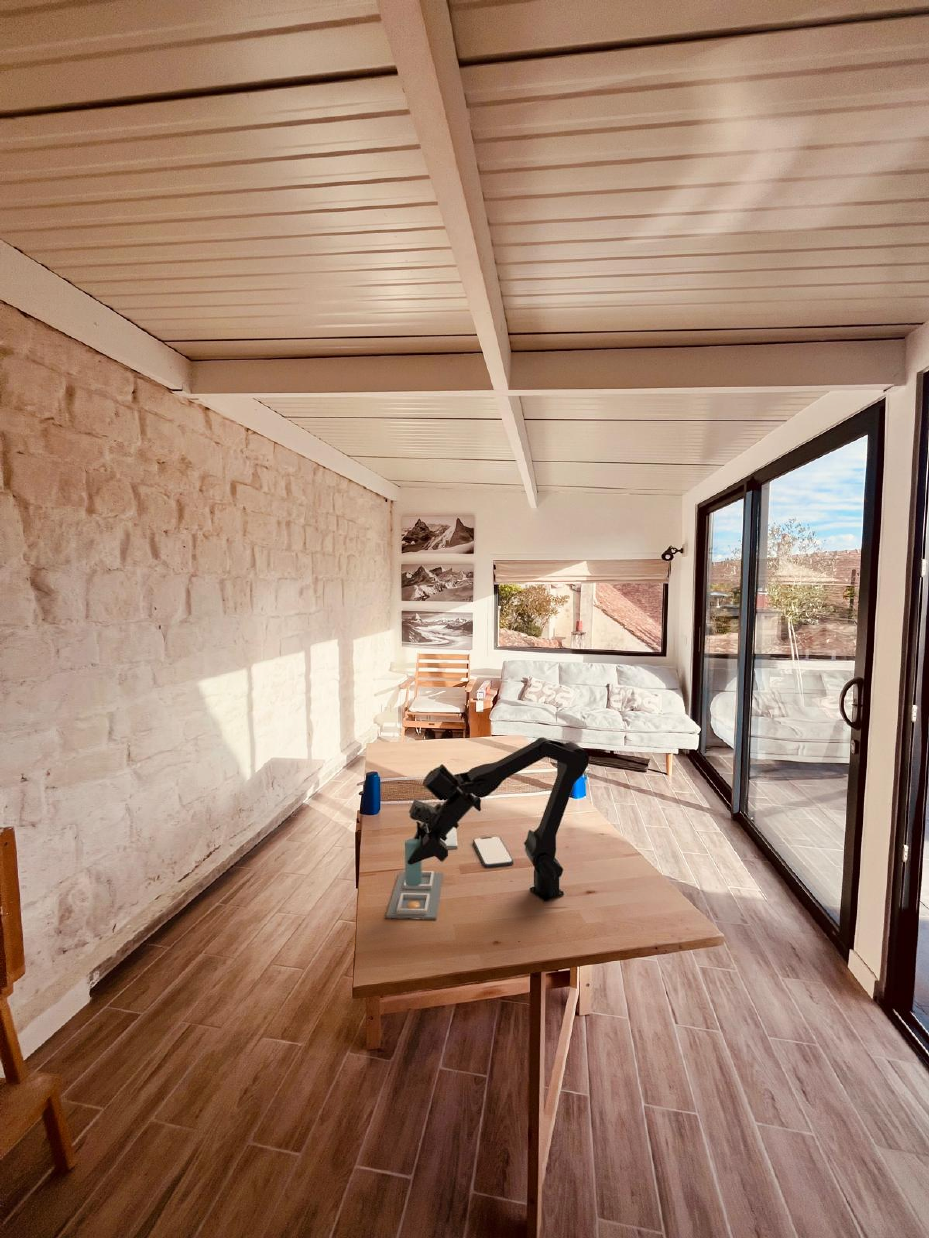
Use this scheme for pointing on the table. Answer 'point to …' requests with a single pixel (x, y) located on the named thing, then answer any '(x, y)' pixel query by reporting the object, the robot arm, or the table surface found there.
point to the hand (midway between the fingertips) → (407, 858)
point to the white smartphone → (492, 852)
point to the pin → (414, 870)
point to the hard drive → (451, 839)
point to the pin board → (416, 897)
